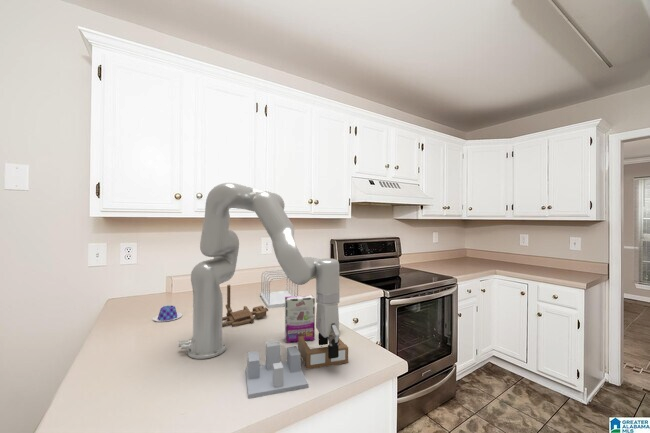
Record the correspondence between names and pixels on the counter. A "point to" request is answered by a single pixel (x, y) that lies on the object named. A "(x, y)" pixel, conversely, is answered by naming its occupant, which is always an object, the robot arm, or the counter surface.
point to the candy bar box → (299, 318)
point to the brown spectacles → (321, 355)
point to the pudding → (167, 314)
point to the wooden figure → (241, 313)
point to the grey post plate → (274, 371)
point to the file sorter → (275, 297)
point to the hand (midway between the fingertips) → (328, 350)
